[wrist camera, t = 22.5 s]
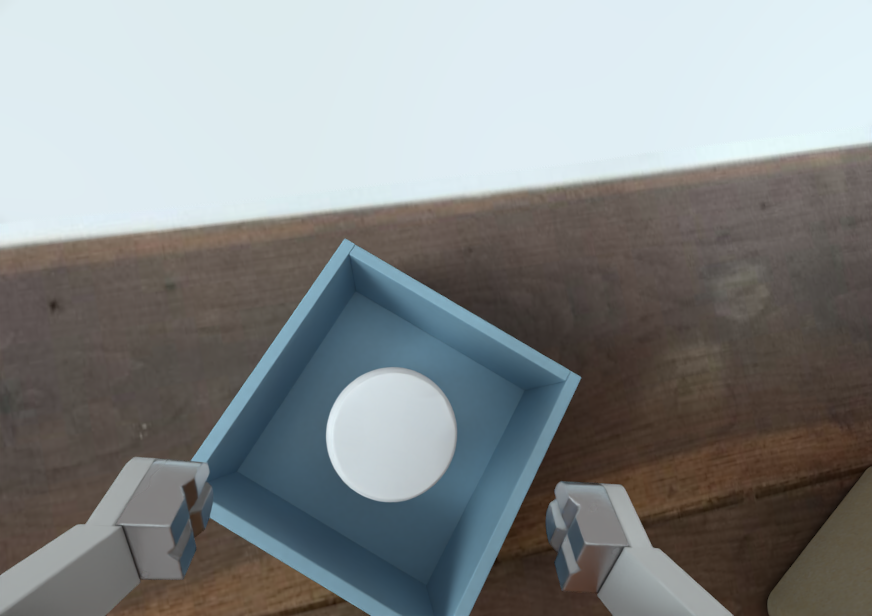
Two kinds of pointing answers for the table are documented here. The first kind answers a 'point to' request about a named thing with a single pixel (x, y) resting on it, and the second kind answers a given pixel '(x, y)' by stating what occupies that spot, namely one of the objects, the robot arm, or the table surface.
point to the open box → (320, 483)
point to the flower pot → (833, 564)
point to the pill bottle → (391, 434)
